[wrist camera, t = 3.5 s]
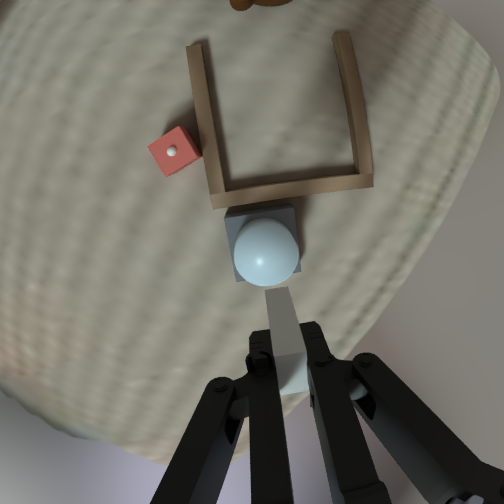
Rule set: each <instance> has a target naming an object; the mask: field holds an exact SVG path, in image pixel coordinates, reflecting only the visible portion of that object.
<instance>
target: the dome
mask: <svg viewBox="0 0 504 504" xmlns="http://www.w3.org/2000/svg"><path fill="white" fill-rule="evenodd" d="M298 258H299V251H298V247H297V244H296V242H295V240H294V238H293V236H292V234H291V233H290V231H289V229H288V228H287V227H286V226H285V225H284V224H283V223H281V222H280V221H278V220H275V219H272V218H258V219H254V220H252V221H250V222H248V223H247V224H245V225H244V226H243V227H242V228H241V230H240V231H239V233H238V235H237V237H236V240H235V248H234V263H235V266H236V269H237V271H238V272H239V274H240V275H241V276H242V277H243V278H244V279H245V280H247V281H248V282H250V283H252V284H255V285H258V286H272V285H276V284H279V283H281V282H283V281H285V280H286V279H287V278H288V277H289V276H290V275H291V274H292V273H293V272H294V270H295V268H296V266H297V263H298Z"/></svg>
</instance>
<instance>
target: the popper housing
mask: <svg viewBox="0 0 504 504" xmlns="http://www.w3.org/2000/svg"><path fill="white" fill-rule="evenodd" d="M258 218H272V219H275V220H278V221H280V222H281V223H283V224H284V225H285V226H286V227H287V228H288V229H289V231H290V233H291V234H292V236H293V238H294V240H295V242H296V244H297V247H298V251H299V246H298V236H297V227H296V219H295V210H294V207H293V206H292V205H291V204H287V205H280V206H274V207H267V208H260V209H254V210H248V211H241V212H235V213H229V214H225V217H224V220H225V226H226V231H227V236H228V241H229V247H230V252H231V257H232V262H233V267H234V272H235V277H236V282H239V281H245V279H244V278H243V277H242V276H241V275H240V274H239V272H238V271H237V269H236V266H235V263H234V248H235V240H236V237H237V235H238V233H239V231H240V230H241V228H242V227H243V226H244V225H245V224H247V223H248V222H250V221H252V220H254V219H258ZM296 272H301V265H300V255H299V258H298V263H297V266H296V268H295V270H294V272H293V273H296Z"/></svg>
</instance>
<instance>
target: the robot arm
mask: <svg viewBox="0 0 504 504" xmlns="http://www.w3.org/2000/svg"><path fill="white" fill-rule="evenodd" d="M265 295H266V303H267V310H268V318H269V326H270V329H267V330H260V331H253V332H252V334H251V335H250V337H249V349H250V350H249V354H248V355H247V357H246V360H245V361H246V366H247V370H248V372H247V374H246V375H244V376H243V377H241V378H239V379H236V380H231V379H230V378H227V377H218V378H215V379H213V380H211V381H210V382H209V383H208V384H207V386H206V388H205V390H204V392H203V394H202V397H201V399H200V401H199V403H198V405H197V407H196V409H195V411H194V414H193V416H192V418H191V420H190V422H189V424H188V426H187V428H186V430H185V432H184V434H183V437H182V439H181V441H180V443H179V445H178V447H177V449H176V451H175V453H174V455H173V457H172V459H171V461H170V463H169V466H168V468H167V470H166V472H165V474H164V476H163V478H162V480H161V482H160V484H159V486H158V488H157V490H156V492H155V494H154V496H153V498H152V500H151V502H150V504H216V503H217V500H218V497H219V494H220V491H221V488H222V485H223V482H224V480H225V477H226V474H227V471H228V468H229V465H230V462H231V459H232V456H233V453H234V450H235V447H236V444H237V441H238V437H239V434H240V431H241V428H242V425H243V422H244V418H246V417H248V416H249V432H250V470H251V504H294V497H293V489H292V481H291V473H290V465H289V458H288V450H287V442H286V435H285V428H284V419H283V412H282V404H281V398H280V395H285V394H291V393H297V392H303V391H309V390H310V406H311V407H312V408H313V412H314V417H315V422H316V426H317V431H318V435H319V439H320V444H321V449H322V454H323V458H324V463H325V467H326V472H327V477H328V482H329V487H330V492H331V497H332V502H333V504H392V503H391V500H390V497H389V494H388V491H387V488H386V486H385V484H384V483H383V482H382V481H380V480H379V478H378V476H377V473H376V470H375V467H374V464H373V461H372V458H371V455H370V452H369V449H368V446H367V443H366V440H365V437H364V434H363V431H362V429H361V426H360V423H359V420H358V417H357V414H356V412H355V409H354V407H355V408H356V410H357V411H358V412H359V414H360V415H361V416H362V418H363V419H364V420H365V422H366V423H367V424H368V425H369V427H370V428H371V430H372V431H373V432H374V433H375V435H376V436H377V437H378V439H379V440H380V441H381V443H382V444H383V445H384V447H385V448H386V449H387V450H388V452H389V453H390V454H391V456H392V457H393V458H394V460H395V461H396V462H397V464H398V465H399V466H400V467H401V469H402V470H403V471H404V472H405V474H406V475H407V477H408V478H409V479H410V480H411V482H412V483H413V484H414V486H415V487H416V488H417V489H418V491H419V492H420V493H421V495H422V496H423V497H424V498H425V499H426V501H427V502H428V503H429V504H504V471H503V470H501V469H498V468H496V467H493V466H491V465H489V464H486V463H484V462H481V461H480V460H479V459H478V458H477V456H476V455H475V454H474V453H472V451H471V450H470V449H469V448H468V447H467V446H466V445H465V444H464V443H463V442H462V441H461V440H460V439H459V438H458V437H457V436H456V435H455V434H454V433H453V432H452V431H451V430H450V429H449V428H448V427H447V426H446V425H445V424H444V423H443V422H442V421H441V420H440V419H439V418H438V416H437V415H436V414H434V413H433V412H432V411H431V409H430V408H429V407H427V405H425V403H424V402H422V400H421V399H420V398H419V397H418V396H417V395H416V394H415V393H414V392H413V391H412V390H411V389H410V388H409V387H408V386H407V385H406V384H405V383H404V382H403V381H402V380H401V379H400V378H399V377H398V376H397V375H396V374H395V373H394V372H393V371H392V370H391V369H390V368H388V367H387V366H386V364H385V363H384V362H383V361H382V360H380V358H379V357H377V356H376V355H375V354H372V353H360V354H358V355H356V356H355V357H354V359H353V361H346V360H339V359H337V358H335V357H334V355H332V354H331V353H330V350H329V348H328V345H327V343H326V340H325V337H324V335H323V332H322V330H321V327H320V325H319V324H317V323H316V322H315V321H312V322H307V323H301V324H299V322H298V319H297V316H296V312H295V309H294V305H293V302H292V298H291V295H290V292H289V288H288V286H287V287H281V288H274V289H268V290H265Z"/></svg>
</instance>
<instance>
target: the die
mask: <svg viewBox="0 0 504 504" xmlns="http://www.w3.org/2000/svg"><path fill="white" fill-rule="evenodd" d="M148 148H149V150H150V151H151V153H152V155H153V156H154V158H155V160H156V162H157V163H158V165H159V167H160V168H161V170H162V172H163V173H164V175H165V177H167V176H170V175H172V174H175V173H176V172H178V171H180V170H181V169H183V168H184V167H186V166H188V165H189V164H191V163H192V162H194V161H196V160H197V159H199V158H201V157H202V154H201V153H200V151H199V149H198V148H197V146H196V144H195V142H194V141H193V139H192V137H191V136H190V134H189V132H188V131H187V129H186V128H184V127H181V126H178V127H176V128H174V129H173V130H171V131H170V132H168V133H167V134H165V135H164V136H162V137H161V138H159V139H158V140H156V141H155V142H153V143H152V144H150V145H149V146H148Z"/></svg>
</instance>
